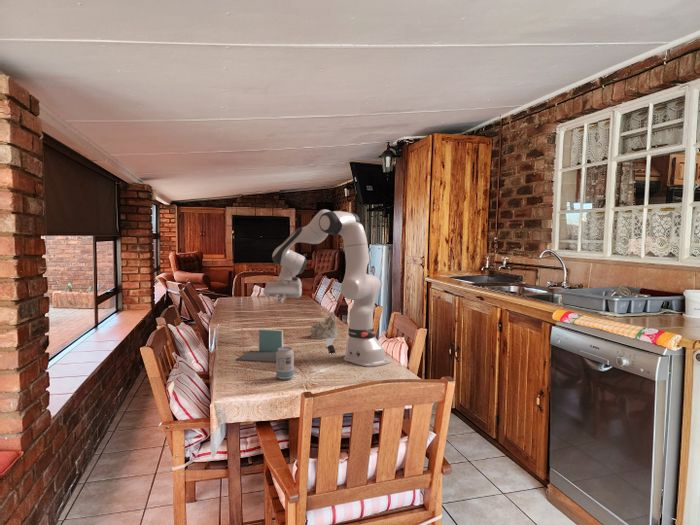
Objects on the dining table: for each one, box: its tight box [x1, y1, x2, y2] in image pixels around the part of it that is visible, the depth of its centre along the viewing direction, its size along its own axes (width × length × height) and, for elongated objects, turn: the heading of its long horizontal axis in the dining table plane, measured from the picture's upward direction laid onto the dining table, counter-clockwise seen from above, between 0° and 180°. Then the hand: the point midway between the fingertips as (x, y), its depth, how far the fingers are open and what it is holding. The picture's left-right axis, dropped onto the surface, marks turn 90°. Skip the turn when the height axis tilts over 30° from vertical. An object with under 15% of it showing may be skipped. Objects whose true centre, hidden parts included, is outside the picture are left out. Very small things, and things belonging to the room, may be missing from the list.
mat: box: [235, 349, 277, 364], centre depth 208 cm, size 16×20×1 cm
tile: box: [258, 328, 284, 352], centre depth 217 cm, size 2×12×11 cm, turn 79°
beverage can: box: [275, 346, 295, 381], centre depth 177 cm, size 7×7×12 cm
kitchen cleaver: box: [325, 338, 336, 355], centre depth 230 cm, size 31×2×10 cm
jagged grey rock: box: [310, 311, 339, 340], centre depth 252 cm, size 16×16×15 cm
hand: (279, 302), depth 229 cm, fingers closed
